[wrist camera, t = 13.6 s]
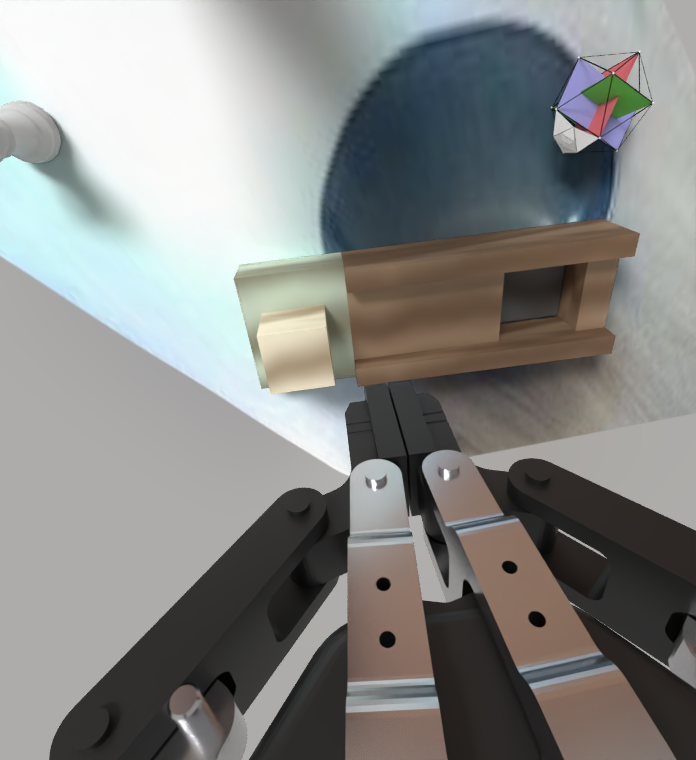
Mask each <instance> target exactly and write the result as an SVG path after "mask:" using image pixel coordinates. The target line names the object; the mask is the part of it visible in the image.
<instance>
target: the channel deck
mask: <svg viewBox="0 0 696 760" xmlns="http://www.w3.org/2000/svg"><path fill="white" fill-rule="evenodd" d="M639 235H640V233H637V232H635V231H632V230H629V229H627V228H624V227H622V226H619V225H617V224H614V223H611V222H609V221H606V220H604V219H595V220H587V221H579V222H571V223H564V224H556V225H548V226H540V227H533V228H525V229H517V230H509V231H501V232H494V233H486V234H478V235H470V236H462V237H455V238H447V239H439V240H431V241H423V242H416V243H408V244H400V245H392V246H385V247H377V248H369V249H361V250H353V251H346V252H338V253H330V254H322V255H314V256H307V257H299V258H291V259H283V260H275V261H268V262H260V263H252V264H244V265H240V266H239V268H238V270H237V273H236V275H235V277H234V281H235V285H236V289H237V293H238V297H239V301H240V305H241V309H242V313H243V317H244V321H245V325H246V329H247V333H248V337H249V341H250V345H251V349H252V353H253V357H254V361H255V365H256V369H257V373H258V377H259V381H260V385H261V389H263V388H269V385H268V381H267V377H266V373H265V369H264V365H263V361H262V357H261V352H260V348H259V344H258V340H257V332H258V328H259V323H260V319H261V314H262V313H267V312H274V311H282V310H289V309H297V308H304V307H311V306H319V305H324V306H325V312H326V319H327V326H328V332H329V339H330V346H331V352H332V359H333V369H334V379H340V378H347V377H355V376H356V379H357V384H358V387H359V386H365V385H373V384H381V383H388V382H395V381H403V380H412V379H420V378H427V377H435V376H443V375H450V374H458V373H466V372H473V371H481V370H489V369H496V368H504V367H511V366H519V365H527V364H534V363H542V362H550V361H557V360H565V359H573V358H580V357H588V356H596V355H603V354H611V353H612V349H613V345H614V340H615V335H614V334H612V333H611V332H610V331H609V330H607V329H606V328H605V327H604V326H605V322H606V317H607V313H608V308H609V303H610V299H611V294H612V290H613V285H614V281H615V276H616V272H617V267H618V262H619V258H624V257H632V256H635V252H636V248H637V244H638V239H639ZM564 267H565V268H564ZM563 273H564V275H563ZM562 280H563V281H562ZM561 286H562V287H561ZM560 293H561V294H560ZM559 299H560V300H559ZM558 305H559V307H558ZM557 312H558V313H557ZM554 315H557V316H554ZM546 316H549V317H546ZM539 317H541V318H539ZM531 318H534V319H531ZM523 319H526V320H523ZM516 320H518V321H516ZM508 321H511V322H508ZM500 322H503V323H500Z"/></svg>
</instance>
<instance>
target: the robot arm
mask: <svg viewBox="0 0 696 760" xmlns="http://www.w3.org/2000/svg"><path fill="white" fill-rule="evenodd" d="M364 392H365V401H361V402H353V403H350V404H349V406H348V408H347V410H346V412H345V418H346V426H347V435H348V443H349V452H350V460H351V474H350V476H349V478H348V480H347V481H346V482H345V483H344V484H343V485H342V486H341V487H340V488H338V489H336V490H334V491H332V492H330V493H327V494H325V495H322V494H321V493H320V492H318V491H317V490H314V489H311V488H297V489H293V490H290V491H288V492H286V493H284V494H283V495H282V496H280V497H279V498H278V499H277V500H276V501H275V502H274V503H273V504H272V505H271V506H270V507H269V508H268V509H267V510H266V511H265V512H264V513H263V514H262V516H260V518H259V519H258V520H257V521H256V522H255V523H254V524H253V525H252V526H251V527H250V528H249V529H248V530H247V531H246V532H245V533H244V534H243V535H242V536H241V537H240V538H239V539H238V540H237V541H236V542H235V543H234V544H233V545H232V546H231V547H230V548H229V549H228V550H227V551H226V552H225V553H224V554H223V555H222V556H221V557H220V558H219V559H218V561H216V562H215V563H214V565H213V566H212V567H211V568H210V569H209V570H208V571H207V572H206V573H205V574H204V575H203V576H202V577H201V578H200V579H199V580H198V581H197V582H196V583H195V584H194V585H193V586H192V587H191V588H190V589H189V590H188V591H187V592H186V593H185V594H184V595H183V596H182V597H181V598H180V599H179V600H178V601H177V602H176V603H175V604H174V606H172V608H170V609H169V611H168V612H167V613H166V614H165V615H164V616H163V617H162V618H161V619H160V620H159V621H158V622H157V623H156V624H155V625H154V626H153V627H152V628H151V629H150V630H149V631H148V632H147V633H146V634H145V635H144V636H143V637H142V638H141V639H140V640H139V641H138V642H137V643H136V644H135V645H134V646H133V647H132V648H131V649H130V650H129V652H127V654H126V655H125V656H124V657H123V658H122V659H121V660H120V661H119V662H118V663H117V664H116V665H115V666H114V667H113V668H112V669H111V670H110V671H109V672H108V673H107V674H106V675H105V676H104V677H103V678H102V679H101V680H100V681H99V682H98V683H97V684H96V685H95V686H94V687H93V688H92V689H91V690H90V691H89V692H88V693H87V694H86V695H85V696H84V697H83V698H82V699H81V701H80V702H79V703H78V704H77V705H76V706H75V707H74V708H73V709H72V710H71V711H70V712H69V714H68V715H67V716H66V717H65V719H64V720H63V721H62V723H61V725H60V726H59V728H58V730H57V732H56V734H55V736H54V739H53V742H52V745H51V749H50V758H49V760H241V759H242V757H243V754H244V751H245V748H246V743H247V727H246V722H245V720H244V717H243V715H244V714H245V712H246V711H247V709H248V708H249V706H250V705H251V704H252V702H253V701H254V700H255V698H256V697H257V695H258V694H259V692H260V691H261V690H262V688H263V687H264V685H265V684H266V683H267V681H268V680H269V678H270V677H271V676H272V674H273V673H274V671H275V670H276V668H277V667H278V666H279V664H280V663H281V662H282V660H283V659H284V657H285V656H286V654H287V653H288V652H289V650H290V649H291V647H292V646H293V644H294V643H295V642H296V640H297V639H298V637H299V636H300V635H301V633H302V632H303V631H304V629H305V628H306V626H307V625H308V623H309V622H310V621H311V619H312V618H313V616H314V615H315V614H316V612H317V611H318V609H319V608H320V606H321V605H322V604H323V602H324V601H325V600H326V598H327V597H328V595H329V594H330V593H331V591H332V590H333V588H334V587H335V585H336V584H337V581H338V578H339V576H340V575H343V574H344V573H347V572H348V623H347V624H345V625H343V626H341V627H340V628H339V629H337V630H336V631H335V632H334V633H332V634H331V635H330V636H329V637H328V638H327V639H326V640H325V641H324V642H323V644H322V645H321V646H320V647H319V648H318V650H317V651H316V652H315V654H314V655H313V657H312V659H311V660H310V662H309V663H308V665H307V667H306V669H305V670H304V672H303V673H302V675H301V676H300V678H299V680H298V681H297V683H296V684H295V686H294V688H293V689H292V691H291V693H290V694H289V696H288V697H287V699H286V701H285V702H284V704H283V705H282V707H281V709H280V710H279V712H278V714H277V715H276V717H275V718H274V720H273V722H272V723H271V725H270V726H269V728H268V730H267V731H266V733H265V735H264V736H263V738H262V739H261V741H260V743H259V744H258V746H257V747H256V749H255V751H254V752H253V754H252V756H251V757H250V759H249V760H696V531H695V530H693V529H691V528H689V527H687V526H685V525H683V524H680V523H678V522H676V521H674V520H672V519H670V518H668V517H665V516H663V515H661V514H659V513H657V512H655V511H653V510H651V509H648V508H646V507H644V506H642V505H640V504H638V503H635V502H634V501H631V500H629V499H627V498H625V497H623V496H621V495H619V494H616V493H614V492H612V491H610V490H608V489H606V488H604V487H601V486H599V485H597V484H595V483H593V482H591V481H589V480H586V479H584V478H582V477H580V476H578V475H576V474H574V473H572V472H569V471H567V470H565V469H563V468H561V467H559V466H557V465H554V464H552V463H550V462H548V461H545V460H541V459H533V458H530V459H523V460H519V461H517V462H515V463H514V464H513V465H512V466H511V467H510V469H509V472H505V471H496V470H489V469H483V468H480V467H478V466H475V465H474V463H473V461H472V460H471V459H470V458H469V457H468V456H466V455H465V454H463V453H461V451H460V448H459V446H458V444H457V442H456V439H455V437H454V435H453V432H452V430H451V428H450V426H449V423H448V422H447V419H446V417H445V414H444V413H443V410H442V407H441V405H440V403H439V401H438V400H437V399H436V398H434V397H433V396H432V395H431V394H429V393H421V394H415V391H414V389H413V386H412V383H411V381H410V380H403V381H395V382H388V383H387V384H386V383H381V384H373V385H365V386H364ZM409 507H410V511H411V514H412V516H416V515H421V517H422V521H423V526H424V527H423V528H424V540H425V543H426V546H427V548H428V551H429V554H430V557H431V560H432V562H433V565H434V568H435V571H436V573H437V576H438V579H439V582H440V584H441V587H442V590H443V593H444V596H445V599H446V603H440V602H431V601H423V600H422V596H421V589H420V582H419V575H418V569H417V563H416V555H415V549H414V542H413V536H412V533H411V532H410V527H409V520H408V517H409ZM558 529H560V530H562V531H564V532H566V533H567V534H569V535H571V536H573V537H575V538H576V539H578V540H580V541H582V542H583V543H585V544H587V545H589V546H590V547H592V548H594V549H596V550H597V551H600V552H601V553H602V554H603V555H604V556H605V557H606V558H607V559H606V558H604V557H603V556H601V555H599V554H597V553H596V552H594V551H592V550H590V549H589V548H586V547H585V546H583V545H582V544H580V543H578V542H576V541H574V540H573V539H571V538H569V537H567V536H566V535H564V534H562V533H560V532H559V531H558ZM569 601H570V602H572V603H573V604H575V605H576V606H578V607H579V608H581V609H582V610H581V609H579V608H577V607H575V606H573V605H571V604H570V602H569ZM583 610H584V611H585V612H584V611H583ZM586 612H587V613H586ZM589 614H590V615H589ZM592 616H593V617H592ZM595 618H596V619H595ZM598 620H599V621H598ZM601 622H602V623H603V624H602V623H601ZM604 624H605V625H606V626H605V625H604ZM607 626H608V627H609V628H608V627H607ZM610 628H611V629H612V630H614V631H615V632H617V633H618V634H620V635H622V636H623V637H625V638H626V639H628V640H629V641H631V642H632V643H634V644H635V645H637V646H638V647H640V648H641V649H643V650H644V651H646V652H647V653H649V654H650V655H652V656H653V657H655V658H656V659H658V660H659V661H661V662H663V663H664V664H665V665H667V666H668V667H670V670H671V671H670V670H668V669H667V668H665V667H664V666H662V665H661V664H660V663H658V662H657V661H655V660H654V659H652V658H651V657H650V656H648V655H647V654H645V653H644V652H642V651H641V650H639V649H638V648H636V647H635V646H634V645H632V644H631V643H630V642H628V641H627V640H625V639H624V638H622V637H621V636H620V635H618V634H617V633H615V632H614V631H612V630H611V629H610Z"/></svg>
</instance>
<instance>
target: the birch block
mask: <svg viewBox="0 0 696 760" xmlns="http://www.w3.org/2000/svg"><path fill="white" fill-rule="evenodd" d="M257 340H258V344H259V348H260V352H261V357H262V361H263V365H264V369H265V373H266V377H267V381H268V385H269V389H270V393H271V394H277V393H284V392H292V391H299V390H306V389H314V388H321V387H328V386H335V380H334V369H333V359H332V352H331V346H330V339H329V332H328V326H327V319H326V312H325V306H324V305H319V306H311V307H304V308H297V309H289V310H282V311H274V312H267V313H262V314H261V319H260V323H259V328H258V332H257Z"/></svg>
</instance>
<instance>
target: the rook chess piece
mask: <svg viewBox="0 0 696 760" xmlns="http://www.w3.org/2000/svg"><path fill="white" fill-rule="evenodd" d="M60 145H61V139H60V134H59V130H58V128H57V126H56V124H55V122H54V121H53V119H52V118H51V117H50V116H49V115H48V114H47V113H46V112H45V111H44V110H43V109H42V108H40V107H38V106H36V105H35V104H33V103H31V102H25V101H16V102H10V103H7V104H4V105H2V106H1V107H0V162H1V161H2V160H3V159H4V158H7V157H10V156H11V155H12V156H14V157H16V158H18V159H20V160H22V161H25V162H30V163H45V162H48V161H51V160H53V159H54V158H55V157H56V155H57V154H58V153H59V150H60Z"/></svg>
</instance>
